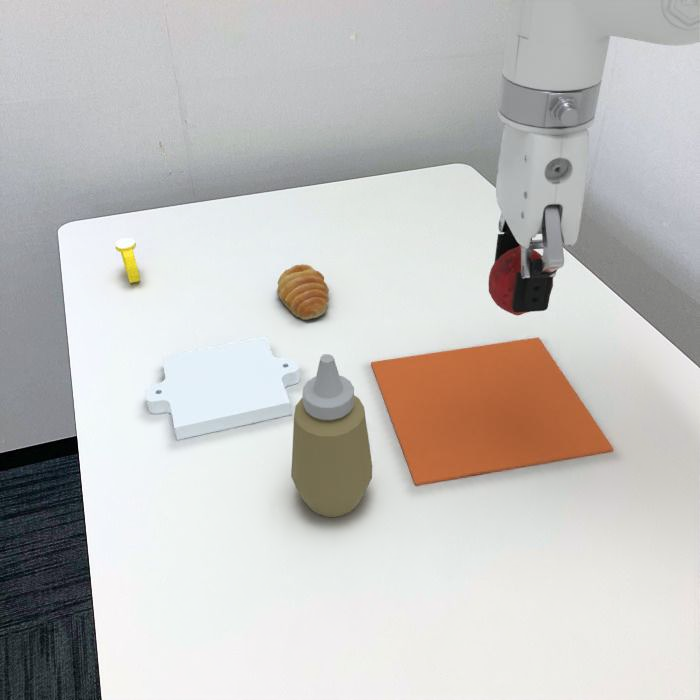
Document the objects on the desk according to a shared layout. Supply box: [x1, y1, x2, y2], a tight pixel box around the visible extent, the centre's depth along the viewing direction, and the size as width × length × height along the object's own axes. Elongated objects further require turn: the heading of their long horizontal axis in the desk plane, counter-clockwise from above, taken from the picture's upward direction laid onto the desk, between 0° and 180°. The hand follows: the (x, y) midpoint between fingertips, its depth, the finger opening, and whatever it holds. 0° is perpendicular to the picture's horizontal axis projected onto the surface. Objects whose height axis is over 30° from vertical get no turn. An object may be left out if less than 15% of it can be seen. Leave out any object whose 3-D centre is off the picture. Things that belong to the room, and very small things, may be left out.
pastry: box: [276, 263, 330, 321], centre depth 100 cm, size 9×7×4 cm
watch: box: [114, 237, 141, 284], centre depth 105 cm, size 6×3×6 cm, turn 23°
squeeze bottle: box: [290, 353, 373, 518], centre depth 69 cm, size 8×8×18 cm
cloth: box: [370, 337, 614, 486], centre depth 85 cm, size 22×20×1 cm
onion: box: [488, 245, 554, 316], centre depth 69 cm, size 6×6×8 cm
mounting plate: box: [144, 335, 301, 441], centre depth 87 cm, size 18×13×2 cm
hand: (519, 287), depth 69 cm, fingers closed on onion, 5 cm apart
